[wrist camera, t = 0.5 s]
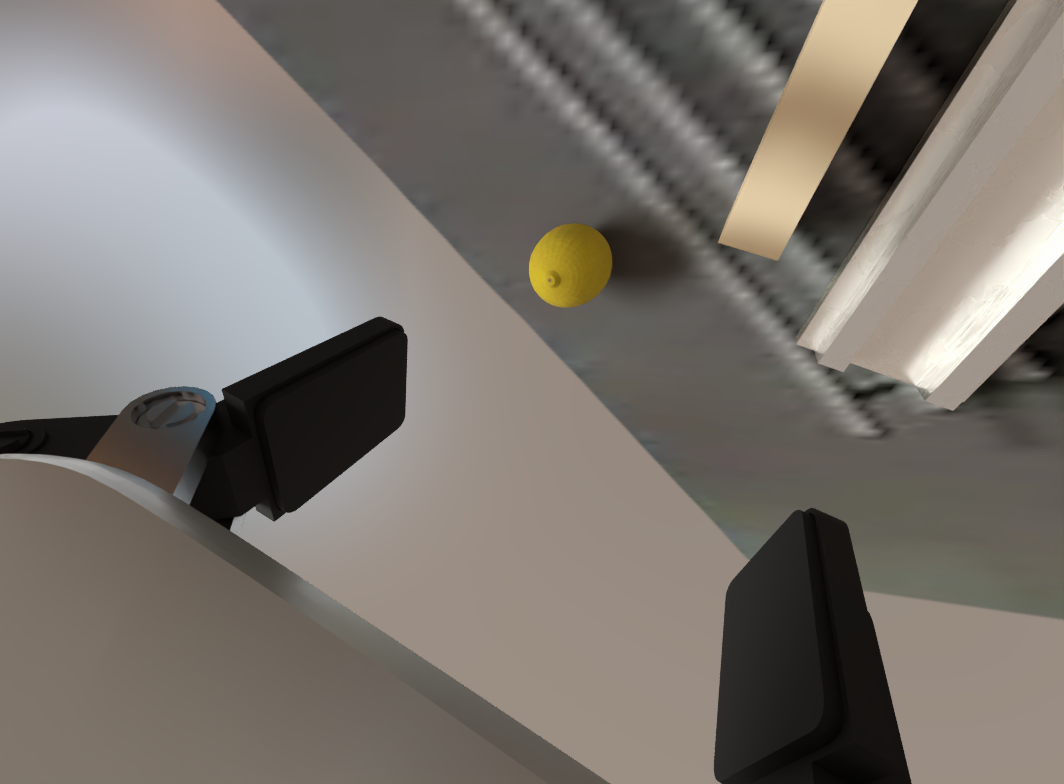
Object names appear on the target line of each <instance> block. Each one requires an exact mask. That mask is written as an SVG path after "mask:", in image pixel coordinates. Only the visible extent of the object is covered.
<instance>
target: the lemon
mask: <svg viewBox="0 0 1064 784" xmlns="http://www.w3.org/2000/svg"><path fill="white" fill-rule="evenodd" d="M611 270H612V253H611V250H610V246H609V244H608V243H607V241H606V239H605V238H604V237H603V236H602V235H601V234H600V233H599V231H597V230H595V229H594V228H592V227H590V226H587V225H584V224H565V225H562V226H559V227H556V228H555V229H553V230H551V231H550V232H548V233H547V234H546V235H545V236H544V237H543V238H542V239H541V240H540V241H539V242H538V244H537V245H536V247H535V249H534V251H533V253H532V255H531V259H530V263H529V276H530V280H531V284H532V286H533V288H534V290H535V291H536V292H537V294H538V295H539V296H540V297H541V298H542V299H543V300H545V301H546V302H547V303H550V304H552V305H554V306H558V307H575V306H578V305H582V304H584V303H587V302H588V301H590V300H591V299H593V298H594V297H596V296H597V295H598V294H599V293H600V292H601V290H602V289H603V288H604V287H605V285H606V283H607V281H608V279H609V277H610V274H611Z"/></svg>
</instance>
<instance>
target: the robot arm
mask: <svg viewBox="0 0 1064 784" xmlns="http://www.w3.org/2000/svg"><path fill="white" fill-rule="evenodd" d="M407 342H408V340H407V335H406V334H405V333H404V329H403V327H402V326H401V325H399V324H397V323H395V322H392V321H390V320H388V319H386V318H383V317H376V318H374V319H372V320H369V321H367V322H365V323H363V324H361V325H359V326H357V327H354V328H352V329H350V330H348V331H346V332H344V333H341V334H340V335H337V336H335V337H333V338H331V339H329V340H326V341H324V342H322V343H320V344H318V345H316V346H314V347H311V348H309V349H307V350H305V351H303V352H301V353H299V354H296V355H294V356H292V357H290V358H288V359H286V360H283V361H281V362H279V363H277V364H275V365H273V366H271V367H268V368H266V369H264V370H262V371H260V372H258V373H256V374H253V375H251V376H249V377H247V378H245V379H243V380H240V381H238V382H236V383H234V384H232V385H230V386H228V387H225V388H223V389H222V392H223V395H224V400H222V401H220V402H218V403H216V401H215V398H214V396H213V395H212V394H210V393H209V392H208V391H206V390H203V389H199V388H195V387H185V386H183V387H170V388H165V389H160V390H155V391H153V392H150V393H147V394H145V395H142V396H140V397H138V398H137V399H135V400H133V401H131V402H130V403H129V404H128V405H127V406H126V407H125V408H124V409H123V410H122V411H121V413H120V414H119V415H109V416H90V417H74V418H73V417H72V418H55V419H54V418H53V419H35V420H20V421H12V422H5V423H0V784H610V783H608V782H607V781H605V780H604V779H602V778H601V777H600V776H598V775H597V774H595V773H594V772H592V771H591V770H589V769H587V768H586V767H585V766H583V765H582V764H580V763H579V762H577V761H576V760H574V759H573V758H571V757H570V756H568V755H567V754H565V753H564V752H562V751H561V750H559V749H558V748H556V747H555V746H553V745H552V744H550V743H549V742H547V741H546V740H544V739H543V738H541V737H540V736H538V735H537V734H535V733H534V732H532V731H531V730H530V729H528V728H527V727H525V726H523V725H522V724H521V723H519V722H517V721H516V720H515V719H513V718H511V717H510V716H509V715H507V714H506V713H504V712H503V711H501V710H500V709H498V708H497V707H495V706H494V705H492V704H491V703H489V702H488V701H486V700H485V699H483V698H482V697H480V696H479V695H477V694H476V693H474V692H473V691H471V690H470V689H468V688H467V687H465V686H464V685H462V684H461V683H459V682H458V681H456V680H455V679H453V678H452V677H450V676H449V675H447V674H446V673H444V672H443V671H441V670H440V669H438V668H437V667H435V666H434V665H432V664H431V663H429V662H428V661H426V660H425V659H423V658H422V657H420V656H419V655H417V654H416V653H414V652H413V651H411V650H410V649H408V648H407V647H405V646H404V645H402V644H401V643H399V642H398V641H396V640H395V639H393V638H392V637H390V636H389V635H387V634H386V633H384V632H383V631H381V630H379V629H378V628H377V627H375V626H374V625H372V624H370V623H369V622H368V621H366V620H365V619H363V618H361V617H360V616H358V615H357V614H356V613H354V612H353V611H351V610H350V609H348V608H347V607H345V606H343V605H342V604H340V603H339V602H337V601H336V600H334V599H333V598H331V597H330V596H328V595H327V594H325V593H324V592H322V591H321V590H319V589H318V588H316V587H315V586H313V585H312V584H310V583H309V582H307V581H306V580H304V579H303V578H301V577H299V576H298V575H296V574H295V573H293V572H292V571H290V570H289V569H287V568H286V567H284V566H283V565H281V564H280V563H278V562H277V561H275V560H274V559H272V558H271V557H269V556H268V555H266V554H264V553H263V552H261V551H260V550H258V549H257V548H255V547H254V546H252V545H251V544H249V543H248V542H246V541H245V540H243V539H242V538H240V537H239V534H240V531H241V528H242V525H243V521H244V518H245V515H246V512H248V511H249V510H250V509H252V508H253V507H256V510H257V511H258V512H260V513H261V514H263V515H264V516H266V517H268V518H269V519H271V520H272V521H276V520H277V519H278V518H280V517H281V516H282V515H284V514H285V513H286V512H287V513H289V512H293V511H295V510H297V509H298V508H300V507H301V506H302V505H303V504H304V503H306V502H307V501H308V500H309V499H311V498H312V497H313V496H314V495H315V494H317V493H318V492H319V491H321V490H322V489H323V488H324V487H326V486H327V485H328V484H329V483H331V482H332V481H333V480H334V479H335V478H337V477H338V476H339V475H341V474H342V473H343V472H344V471H346V470H347V469H348V468H349V467H350V466H352V465H353V464H354V463H356V462H357V461H358V460H359V459H361V458H362V457H363V456H364V455H366V454H367V453H368V452H369V451H371V450H372V449H373V448H374V447H375V446H377V445H378V444H379V443H380V442H382V441H383V440H384V439H385V438H387V437H388V436H389V435H391V434H392V433H393V432H394V431H395V430H397V429H398V428H399V427H400V426H401V424H402V423H403V421H404V418H405V403H406V373H407ZM723 630H724V631H723V643H722V658H721V671H720V686H719V700H718V714H717V729H716V742H715V756H714V774H715V778H716V780H717V781H719V782H720V783H722V784H912V783H911V779H910V775H909V771H908V767H907V762H906V759H905V754H904V750H903V746H902V741H901V737H900V733H899V729H898V725H897V721H896V716H895V712H894V708H893V704H892V699H891V695H890V691H889V687H888V683H887V679H886V674H885V670H884V666H883V662H882V658H881V654H880V649H879V645H878V641H877V637H876V632H875V629H874V624H873V621H872V618H871V616H870V613H869V612H868V611H867V607H866V602H865V598H864V594H863V589H862V585H861V581H860V577H859V572H858V568H857V564H856V559H855V555H854V551H853V546H852V542H851V538H850V534H849V529H848V526H847V524H846V523H845V522H844V521H842V520H839V519H837V518H835V517H832V516H830V515H828V514H826V513H823V512H821V511H819V510H817V509H814V508H810V509H808V510H806V511H805V512H803V511H801V510H796V511H794V512H793V513H792V514H791V515H790V516H789V518H788V519H787V520H786V521H785V522H784V523H783V524H782V525H781V527H780V528H779V529H778V530H777V531H776V532H775V533H774V534H773V535H772V537H771V538H770V539H769V540H768V541H767V542H766V543H765V544H764V545H763V547H762V548H761V549H760V550H759V551H758V552H757V553H756V554H755V556H754V557H753V558H752V559H751V560H750V561H749V562H748V563H747V565H746V566H745V567H744V568H743V569H742V570H741V571H740V572H739V573H738V575H737V576H736V577H735V578H734V579H733V580H732V582H731V583H730V585H729V587H728V590H727V593H726V601H725V615H724V629H723Z"/></svg>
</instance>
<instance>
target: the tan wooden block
mask: <svg viewBox="0 0 1064 784" xmlns="http://www.w3.org/2000/svg"><path fill="white" fill-rule="evenodd" d="M917 2H918V0H823V3H822V5H821V7H820V9H819V12H818V14H817V16H816V18H815V21H814V23H813V25H812V27H811V30H810V32H809V34H808V37H807V39H806V41H805V43H804V46H803V48H802V50H801V52H800V55H799V57H798V59H797V61H796V64H795V66H794V68H793V70H792V73H791V75H790V77H789V80H788V82H787V84H786V86H785V89H784V91H783V93H782V95H781V98H780V100H779V102H778V104H777V107H776V109H775V111H774V114H773V116H772V118H771V120H770V123H769V125H768V127H767V129H766V132H765V134H764V136H763V138H762V141H761V143H760V145H759V147H758V150H757V152H756V154H755V157H754V159H753V161H752V163H751V166H750V168H749V170H748V172H747V175H746V177H745V179H744V181H743V184H742V186H741V188H740V191H739V193H738V195H737V197H736V200H735V202H734V204H733V206H732V209H731V211H730V213H729V215H728V218H727V220H726V223H725V225H724V228H723V231H722V233H721V236H720V238H719V241H718V243H721V244H724V245H728V246H731V247H734V248H738V249H741V250H744V251H748V252H751V253H754V254H758V255H761V256H764V257H767V258H771V259H774V260H777V261H778V259H779V257H780V255H781V253H782V252H783V250H784V248H785V246H786V244H787V242H788V240H789V239H790V237H791V235H792V233H793V231H794V229H795V227H796V226H797V224H798V222H799V220H800V218H801V216H802V214H803V213H804V211H805V209H806V207H807V205H808V203H809V202H810V200H811V198H812V196H813V194H814V192H815V190H816V189H817V187H818V185H819V183H820V181H821V179H822V177H823V176H824V174H825V172H826V170H827V168H828V166H829V164H830V163H831V161H832V159H833V157H834V155H835V153H836V152H837V150H838V148H839V146H840V144H841V142H842V140H843V139H844V137H845V135H846V133H847V131H848V129H849V127H850V126H851V124H852V122H853V120H854V118H855V116H856V114H857V113H858V111H859V109H860V107H861V105H862V103H863V102H864V100H865V98H866V96H867V94H868V92H869V90H870V89H871V87H872V85H873V83H874V81H875V79H876V77H877V76H878V74H879V72H880V70H881V68H882V66H883V65H884V63H885V61H886V59H887V57H888V55H889V53H890V52H891V50H892V48H893V46H894V44H895V42H896V40H897V39H898V37H899V35H900V33H901V31H902V29H903V27H904V26H905V24H906V22H907V20H908V18H909V16H910V15H911V13H912V11H913V9H914V7H915V5H916V3H917Z"/></svg>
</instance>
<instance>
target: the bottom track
mask: <svg viewBox="0 0 1064 784" xmlns="http://www.w3.org/2000/svg"><path fill="white" fill-rule="evenodd" d="M1063 303H1064V0H1009V1H1008V3H1007V4H1006V6H1005V7H1004V9H1003V10H1002V12H1001V14H1000V15H999V17H998V18H997V20H996V21H995V23H994V25H993V26H992V28H991V29H990V31H989V33H988V34H987V36H986V37H985V39H984V40H983V42H982V44H981V45H980V47H979V48H978V50H977V51H976V53H975V55H974V56H973V58H972V59H971V61H970V62H969V64H968V66H967V67H966V69H965V70H964V72H963V74H962V75H961V77H960V78H959V80H958V81H957V83H956V85H955V86H954V88H953V89H952V91H951V92H950V94H949V96H948V97H947V99H946V100H945V102H944V103H943V105H942V107H941V108H940V110H939V111H938V113H937V115H936V116H935V118H934V119H933V121H932V122H931V124H930V126H929V127H928V129H927V130H926V132H925V133H924V135H923V137H922V138H921V140H920V141H919V143H918V145H917V146H916V148H915V149H914V151H913V152H912V154H911V156H910V157H909V159H908V160H907V162H906V163H905V165H904V167H903V168H902V170H901V171H900V173H899V174H898V176H897V178H896V179H895V181H894V182H893V184H892V186H891V187H890V189H889V190H888V192H887V193H886V195H885V197H884V198H883V200H882V201H881V203H880V204H879V206H878V208H877V209H876V211H875V212H874V214H873V215H872V217H871V219H870V220H869V222H868V223H867V225H866V227H865V228H864V230H863V231H862V233H861V234H860V236H859V238H858V239H857V241H856V242H855V244H854V245H853V247H852V249H851V250H850V252H849V253H848V255H847V257H846V258H845V260H844V261H843V263H842V264H841V266H840V268H839V269H838V271H837V272H836V274H835V275H834V277H833V279H832V280H831V282H830V283H829V285H828V286H827V288H826V290H825V291H824V293H823V294H822V296H821V298H820V299H819V301H818V302H817V304H816V305H815V307H814V309H813V310H812V312H811V313H810V315H809V316H808V318H807V320H806V321H805V323H804V324H803V326H802V327H801V329H800V331H799V332H798V334H797V335H796V337H795V340H796V344H797V345H800V346H803V347H806V348H808V349H811V350H814V351H815V354H816V357H817V361H818V363H819V364H822V365H825V366H828V367H830V368H833V369H836V370H839V371H842V372H844V370H845V369H846V368H847V366H848V365H849V364H850V363H852V364H855V365H858V366H861V367H863V368H866V369H869V370H872V371H875V372H878V373H881V374H884V375H887V376H889V377H892V378H895V379H898V380H901V381H904V382H907V383H910V384H913V385H915V386H916V387H917V389H918V390H919V392H920V394H921V395H922V397H923V398H924V400H925V401H927V402H930V403H933V404H936V405H938V406H941V407H944V408H947V409H950V410H954V409H955V408H956V407H957V406H958V405H959V404H960V403H961V402H964V401H965V400H966V399H967V398H968V397H969V396H970V395H971V394H972V393H973V392H974V391H975V390H976V389H977V388H978V387H979V386H980V385H981V384H982V383H983V382H984V381H985V380H986V379H987V378H988V377H989V376H990V375H991V374H992V373H993V372H994V371H995V370H996V369H997V368H998V367H999V366H1000V365H1002V364H1003V363H1004V362H1005V361H1006V360H1007V359H1008V358H1009V357H1010V356H1011V355H1012V354H1013V353H1014V352H1015V351H1016V350H1017V349H1018V348H1019V347H1020V346H1021V345H1022V344H1023V343H1024V342H1025V341H1026V340H1027V339H1028V338H1029V337H1030V336H1031V335H1032V334H1033V333H1034V332H1035V331H1036V330H1037V329H1038V328H1039V327H1040V326H1041V325H1042V324H1043V323H1044V322H1045V321H1046V320H1047V319H1048V318H1049V317H1050V316H1051V315H1052V314H1053V313H1054V312H1055V311H1056V310H1057V309H1058V308H1059V307H1060V306H1061V305H1062V304H1063Z"/></svg>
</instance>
